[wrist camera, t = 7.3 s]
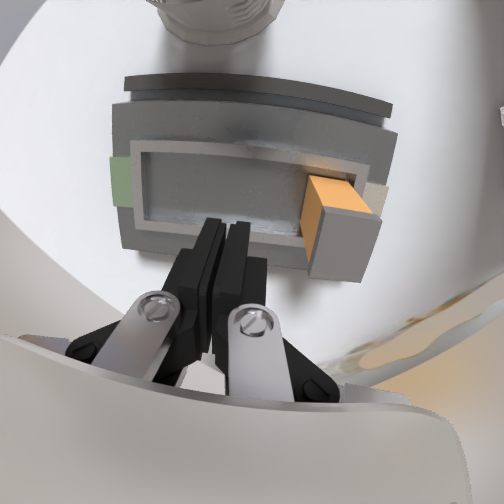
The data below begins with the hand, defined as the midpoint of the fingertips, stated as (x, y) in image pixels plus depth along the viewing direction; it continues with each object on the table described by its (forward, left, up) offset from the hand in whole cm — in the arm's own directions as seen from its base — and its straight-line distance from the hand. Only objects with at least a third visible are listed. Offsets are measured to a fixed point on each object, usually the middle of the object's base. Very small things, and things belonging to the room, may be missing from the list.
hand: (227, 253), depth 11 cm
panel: (+1, 0, -12) cm, 12 cm away
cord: (-7, 0, -12) cm, 14 cm away
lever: (+1, +6, -9) cm, 11 cm away
